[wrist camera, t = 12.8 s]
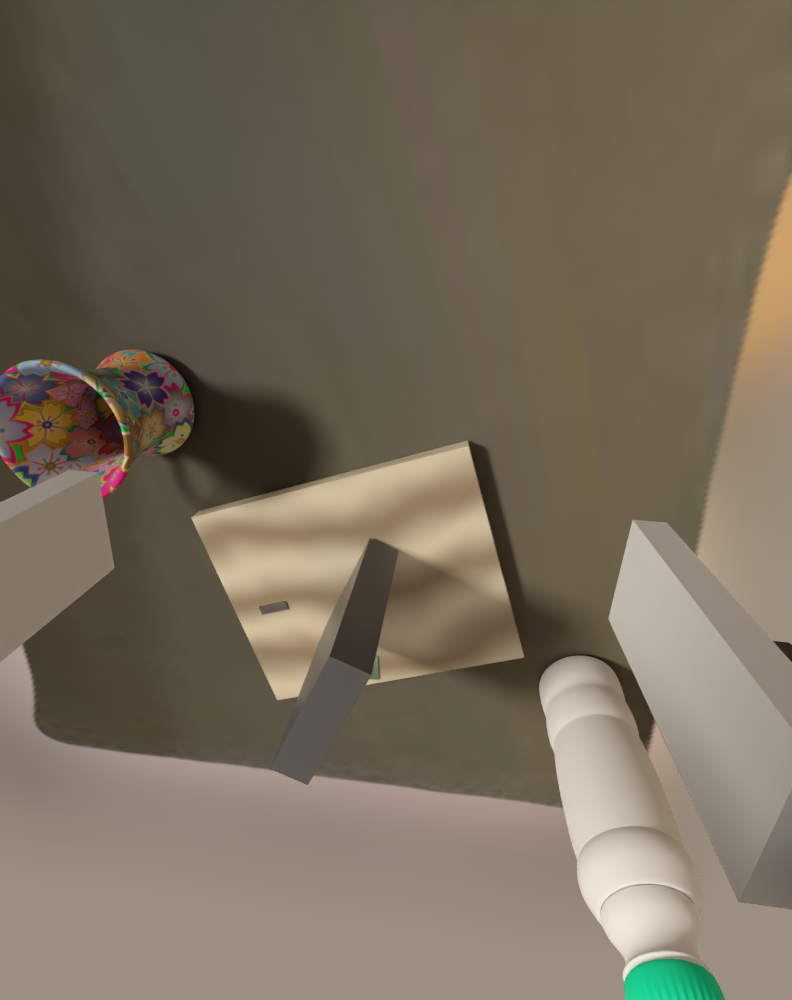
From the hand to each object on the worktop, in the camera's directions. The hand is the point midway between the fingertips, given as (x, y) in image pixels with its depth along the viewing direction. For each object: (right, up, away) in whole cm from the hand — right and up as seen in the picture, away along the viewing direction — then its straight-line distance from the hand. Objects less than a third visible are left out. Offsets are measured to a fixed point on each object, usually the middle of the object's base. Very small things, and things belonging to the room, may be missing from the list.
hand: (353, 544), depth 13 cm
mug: (-20, +8, +30) cm, 37 cm away
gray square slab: (-3, -8, +33) cm, 34 cm away
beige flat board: (-2, -6, +34) cm, 34 cm away
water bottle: (+18, -16, +36) cm, 43 cm away
